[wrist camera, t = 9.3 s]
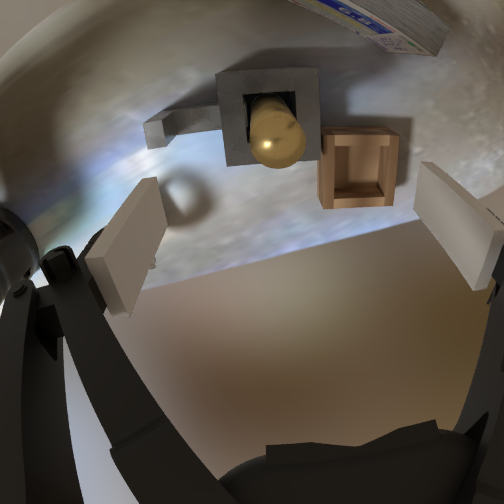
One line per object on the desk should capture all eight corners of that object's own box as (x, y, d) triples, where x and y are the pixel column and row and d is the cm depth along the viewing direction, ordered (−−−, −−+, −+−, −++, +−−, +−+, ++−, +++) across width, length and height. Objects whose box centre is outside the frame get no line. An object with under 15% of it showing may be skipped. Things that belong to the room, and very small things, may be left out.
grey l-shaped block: (165, 132, 36) (148, 149, 30) (161, 110, 34) (142, 123, 28) (248, 122, 35) (247, 136, 29) (245, 99, 33) (244, 108, 28)
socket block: (229, 152, 37) (226, 166, 33) (220, 72, 32) (215, 74, 27) (313, 146, 37) (321, 160, 33) (309, 66, 31) (317, 67, 27)
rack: (317, 194, 40) (323, 209, 37) (316, 127, 35) (323, 135, 32) (382, 192, 40) (392, 205, 37) (386, 127, 35) (399, 135, 31)
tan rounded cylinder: (252, 126, 35) (252, 170, 23) (249, 93, 33) (247, 118, 21) (287, 124, 35) (306, 167, 23) (284, 91, 33) (304, 114, 21)
